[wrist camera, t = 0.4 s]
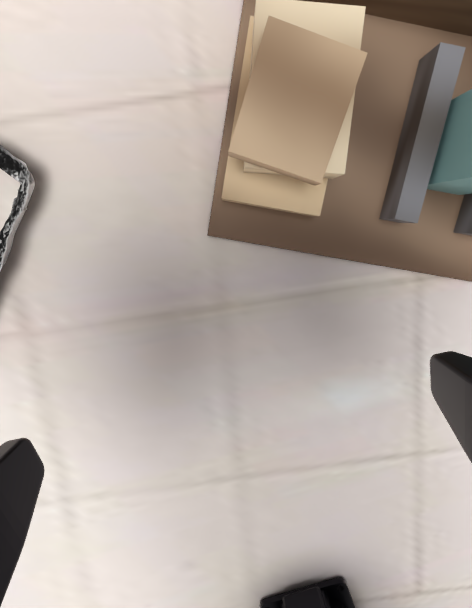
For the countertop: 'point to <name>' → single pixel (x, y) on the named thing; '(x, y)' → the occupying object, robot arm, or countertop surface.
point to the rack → (346, 132)
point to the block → (455, 150)
